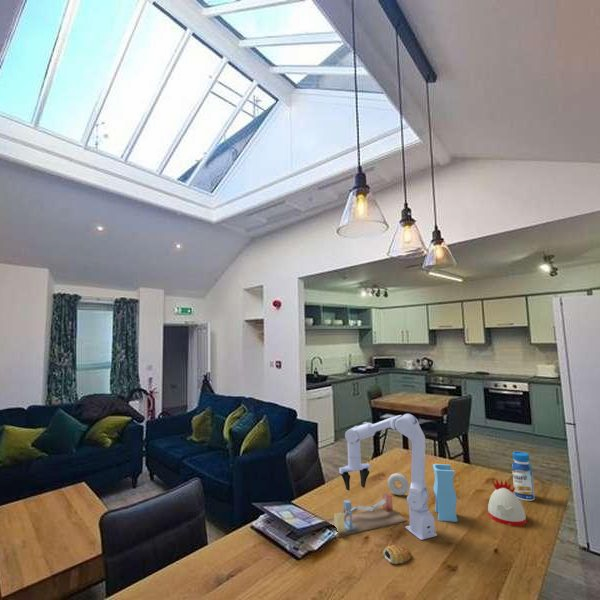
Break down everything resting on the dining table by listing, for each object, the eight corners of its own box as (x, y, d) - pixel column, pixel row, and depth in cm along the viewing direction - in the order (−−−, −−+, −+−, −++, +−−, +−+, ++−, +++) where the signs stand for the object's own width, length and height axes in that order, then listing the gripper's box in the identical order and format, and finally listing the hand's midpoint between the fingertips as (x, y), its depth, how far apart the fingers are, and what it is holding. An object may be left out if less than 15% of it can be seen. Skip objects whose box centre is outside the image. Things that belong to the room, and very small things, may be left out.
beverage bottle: (539, 499, 161) (535, 454, 163) (527, 502, 158) (523, 457, 160) (522, 492, 169) (518, 449, 171) (510, 495, 166) (506, 452, 168)
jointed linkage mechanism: (396, 511, 151) (396, 496, 151) (339, 535, 133) (338, 517, 134) (387, 507, 155) (386, 492, 156) (330, 529, 138) (329, 512, 138)
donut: (409, 495, 168) (408, 473, 169) (408, 498, 165) (407, 476, 166) (388, 492, 172) (387, 471, 173) (387, 494, 168) (386, 473, 170)
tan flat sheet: (406, 521, 143) (406, 520, 144) (336, 538, 132) (336, 536, 132) (388, 507, 156) (388, 506, 156) (322, 521, 144) (322, 520, 144)
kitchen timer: (489, 506, 155) (486, 471, 157) (525, 514, 148) (522, 477, 150) (487, 520, 143) (484, 482, 145) (527, 529, 136) (523, 489, 138)
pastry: (404, 550, 124) (403, 538, 125) (416, 561, 118) (415, 549, 118) (381, 555, 121) (381, 544, 122) (392, 567, 115) (392, 555, 115)
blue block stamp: (348, 521, 143) (347, 497, 144) (356, 529, 137) (355, 503, 138) (340, 523, 142) (339, 499, 143) (347, 531, 136) (346, 505, 137)
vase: (458, 522, 142) (454, 471, 145) (438, 520, 144) (435, 470, 146) (453, 512, 150) (450, 464, 152) (434, 511, 152) (431, 463, 154)
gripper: (363, 451, 160) (364, 482, 158) (335, 455, 155) (336, 487, 153) (372, 455, 154) (373, 488, 152) (342, 460, 149) (343, 493, 147)
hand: (355, 488), depth 152 cm, fingers open, 7 cm apart
